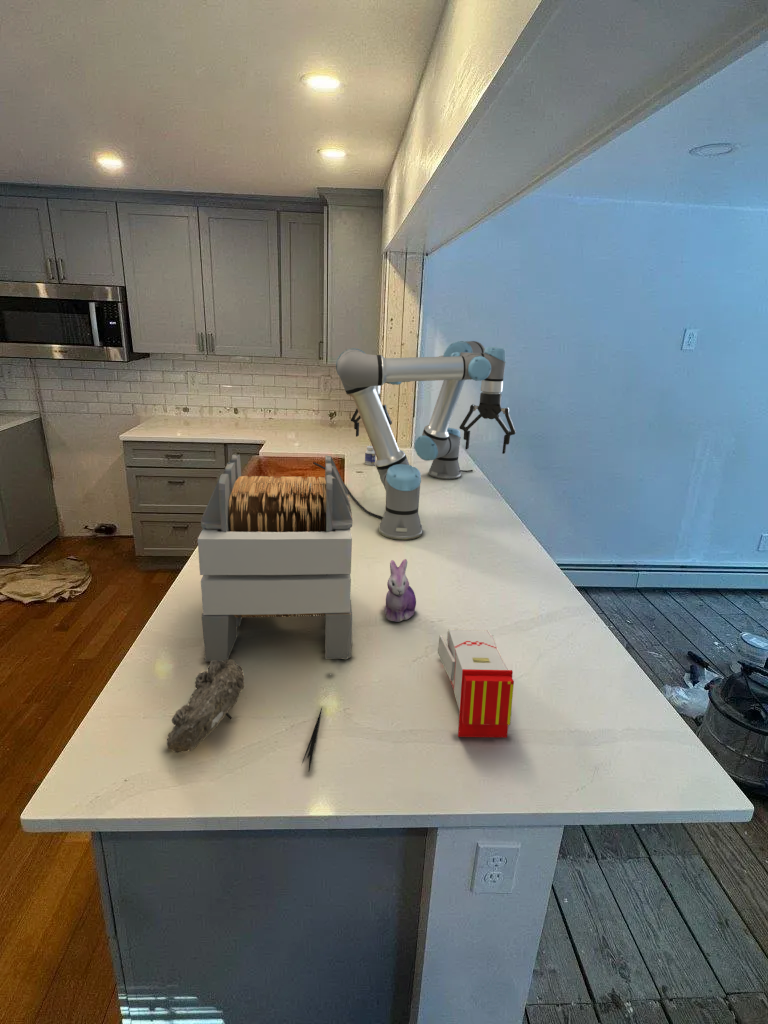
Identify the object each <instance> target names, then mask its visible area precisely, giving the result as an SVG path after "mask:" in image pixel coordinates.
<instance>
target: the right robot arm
mask: <svg viewBox="0 0 768 1024" xmlns="http://www.w3.org/2000/svg"><path fill="white" fill-rule="evenodd" d="M485 348H486V347H485V346H484V345H483V344H482V343H481V342H479V341H476V340H470V341H468V340H467V341H465V340H458V341H455V342H452V343H450V344H449V345H448V346H447V347H446V348H445V350H444V352H443V355H440V356H438V357H450V356H451V354H452V353H454V352H465V353H484V351H485ZM442 381H443V382H442V384H441V387H440V390H439V393H438V396H437V399H436V402H435V406H434V408H433V411H432V414H431V417H430V420H429V424H427V425H425V426H424V428H423V431H422V433H421V435H419V436H418V437H417V438H416V439H415V441H414V450H415V452H416V455H417V456H418V458H420V459H421V460H423V461H426V462H427V461H428V462H429V461H432V462H431V465H430V468H429V470H428V475H429V476H430V477H432V478H434V479H439V480H457V479H460V478H461V475H462V472H463V473H470V472H474V470H473V469H469V470H466V469H465V470H464V469H461V467H460V462H459V456H460V446H461V445H460V444H461V430H460V429H457V428H453V427H449V426H450V424H451V421H452V418H453V416H454V412H455V410H456V407H457V404H458V401H459V398H460V395H461V393H462V390H463V387H464V384H465V381H466V380H442ZM410 382H411V381H407V382H406V383H410ZM402 383H403V382H385V383H384V384H390V385H392V386H394V385H397V386H399V385H401V384H402ZM381 388H382V386H376V391H377V393H378V396H379V398H380V399H381ZM382 406H383V409H384V411H385V414H386V417H387V419H388V422H389V424H390V426H391V425H392V424H393V422H392V421H393V420H392V419H391V417H390V415H389V412H388V409H387V404H382ZM358 414H359V412H358V409H357V408H356V409H355V410H354V413H353V415H352V417H351V418H350V422H351V423H352V422H353V425H354V426H353V429H354V430H355V437H359V435H360V422H359V421H360V420H362V419H361V417H360V414H359V415H358ZM357 416H358V417H357Z"/></svg>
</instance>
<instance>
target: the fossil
mask: <svg viewBox="0 0 768 1024" xmlns="http://www.w3.org/2000/svg"><path fill="white" fill-rule="evenodd" d="M243 670H244V669H243V667H242V665H240V664H237V662H236V661H235V660H234V659H232V658H231V659H229V658H228V659H227V660H224V661H217V660H212V661H211V662H209V665H208V666H207V671H201V672H199V673H198V674H197V675H196V676H195V680H194V684H195V685H194V687H195V689H194V690H193V693H192V694H191V697H190V698H189V700H188V704H184V705H182V706H181V707H180V709H177V710H176V711H175V713H174V715H173V716H172V718H171V723H172V724H173V727H172V730H171V731H170V732H168V734H167V738H166V741H167V742H166V745H167V749H168V750H169V751H173V752H174V753H176V754H178V753H182V752H188V751H189V752H192V751H193V750H195V748H196V747H197V746H199V744H200V743H201V742H203V741H204V740H205V739H206V738H207V737H208V736H209V735H210V734H211V733H212V732H214V730H215V729H217V727H218V726H219V724H220V722H221V721H222V720H223V719H224V718H225V716H226V717H227V719H229V720H233V717H232V715H230V714H229V710H230V709H231V708H234V706H235V704H236V703H237V702H238V699H239V697H240V695H241V693H242V691H243V690H245V689H244V688H245V675H244V671H243Z"/></svg>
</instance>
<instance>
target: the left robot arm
mask: <svg viewBox="0 0 768 1024" xmlns="http://www.w3.org/2000/svg"><path fill="white" fill-rule="evenodd" d="M484 348H485V351H484V353H465V352H454V353H452V354H451V356H450V357H439V356H417V357H415V356H414V357H384V356H383V355H382V354H371V353H366V352H365V351H363V350H362V349H359V348H356V347H355V348H348V349H346V350H343V351H342V352H341V353H340V354H339V355H338V357H337V359H336V362H335V370H336V373H337V376H339V379H340V381H341V384H342V387H343V389H344V391H345V394H346V395H347V396H349V397H351V398H352V399H353V403H354V404H355V407H356V409H358V414H359V415H360V417H361V419H360V420H361V422H362V425H363V427H364V429H365V433H366V434H367V436H368V439H369V442H370V444H371V446H372V447H373V449H374V452H375V454H376V456H375V458H376V459H375V464H374V465H375V467H376V470H377V472H378V475H379V479H380V481H381V483H382V485H383V487H384V489H385V504H384V505H385V507H384V508H385V509H384V513H383V515H380V514H376V513H373V512H371V511H369V510H367V509H366V508H365V507H364V505H362V504H361V503H360V502H359V501H358V500H357V499H356V498H355V496H354V495H353V494H352V493H351V491H350V490H349V488H348V486H347V485H346V484H345V483H344V485H345V487H346V489H347V492H348V494H349V497H350V498H351V499H352V500H353V502H355V504H356V505H357V506H358V507H359V508H360V509H361V510H362V511H364V512H365V513H366V514H367V515H369V516H372V517H374V518H378V519H381V522H379V526H378V533H379V534H380V535H381V536H382V537H385V538H387V539H389V540H395V541H410V540H415V539H418V538H420V537H421V536H422V535H423V525H422V524H421V518H420V515H419V507H420V506H419V505H420V491H421V483H422V477H421V476H422V475H421V471H420V470H419V468H417V467H416V466H413V465H412V464H411V465H410V463H409V460H408V458H407V454H406V451H403V450H401V449H400V448H399V446H398V443H397V440H396V438H395V435H394V432H393V430H392V427H391V425H390V424H389V422H388V419H387V417H386V414H385V411H384V409H383V406H382V405H383V404H382V401H381V397H380V398H379V396H378V393H377V391H376V386H381V387H382V386H384V384H386V383H385V382H402V383H408V382H407V381H410V382H431V381H434V382H435V381H444V380H465V381H467V380H468V381H469V380H470V381H471V380H473V381H475V382H478V381H479V382H481V383H480V391H481V393H479V394H480V395H479V403H478V405H476V404H474V403H472V404H471V405H470V406H469V410H468V412H467V414H466V415H465V417H464V419H463V421H462V422H461V424H460V425H459V427H458V428H459V430H461V431H463V440H464V441H465V450H469V447H470V439H471V438H470V437H471V430H470V429H471V428H472V427H473V426H474V425H475V424H476V423H477V422H478V421H479V420H480V419H481V418H483V419H485V420H488V419H489V420H494V419H495V421H496V422H497V423H498V425H499V426H500V428H501V429H502V431H503V432H504V436H503V442H502V444H503V445H502V452H501V454H502V455H504V454H506V449H507V446H508V445H510V443H511V442H510V441H511V436H514V435H515V434H516V433H517V430H516V428H515V426H514V423H513V420H512V417H511V414H510V407H509V406H507V407H502V406H501V405H502V392H503V387H504V376H505V368H506V363H507V361H506V360H507V350H506V349H505V348H504V347H497V346H496V347H495V346H487V347H484ZM476 410H477V411H478V413H479V414H478V415H477V416H476V417H475V418H474V419H472V421H470V423H468V421H469V420H470V418H471V417H472V415H473V413H474V412H476ZM501 412H502V414H503V415H504V416H505V419H506V422H507V425H508V427H507V425H506V424H505V422H504V421H503V419H502V418H501V416H500V413H501ZM467 423H468V425H467V426H466V424H467ZM313 465H315V466H317V467H319V468H321V469H322V470H325V466H323V465H321V464H320V463H317V462H315V461H314V462H313Z"/></svg>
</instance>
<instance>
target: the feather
mask: <svg viewBox="0 0 768 1024" xmlns="http://www.w3.org/2000/svg"><path fill="white" fill-rule="evenodd" d="M329 675H330V676H331V675H332V674H331V673H330V674H329ZM322 710H323V707H321V708H320V710H319V713H318V716H317V719H316V723H315V725H314V728H313V731H312V733H311V737H310V739H309V742H308V745H307V748H306V751H305V754H304V757H303V760H302V763H301V767H302V765H303V763H304V761H305V758H308V759H309V760H308V762H307V763H308V764H307V766H308V771H310V770H311V766H312V765H311V764H312V760H313V757H315V756H314V755H315V751H316V749H315V746H317V739H318V733H319V729H320V722H321V717H322V712H323V711H322ZM313 754H314V755H313ZM306 755H307V757H306Z"/></svg>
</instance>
